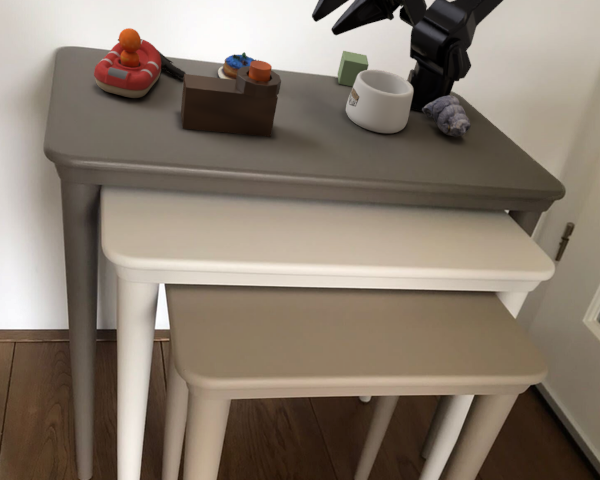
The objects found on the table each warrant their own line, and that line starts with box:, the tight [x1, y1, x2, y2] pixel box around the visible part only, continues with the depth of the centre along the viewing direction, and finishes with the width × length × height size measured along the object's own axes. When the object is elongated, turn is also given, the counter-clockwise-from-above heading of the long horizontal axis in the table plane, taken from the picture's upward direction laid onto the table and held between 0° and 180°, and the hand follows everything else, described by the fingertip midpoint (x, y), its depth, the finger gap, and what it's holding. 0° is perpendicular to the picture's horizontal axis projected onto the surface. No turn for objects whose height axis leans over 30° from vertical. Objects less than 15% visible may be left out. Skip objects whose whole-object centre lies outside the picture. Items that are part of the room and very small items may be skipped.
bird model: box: [117, 38, 187, 79], centre depth 100 cm, size 3×13×3 cm, turn 61°
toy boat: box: [93, 27, 162, 99], centre depth 92 cm, size 8×12×8 cm, turn 173°
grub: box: [421, 94, 472, 137], centre depth 103 cm, size 5×5×10 cm
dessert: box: [217, 52, 260, 80], centre depth 103 cm, size 8×7×6 cm
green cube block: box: [337, 50, 369, 88], centre depth 110 cm, size 4×4×4 cm
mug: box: [345, 69, 413, 134], centre depth 101 cm, size 12×10×6 cm
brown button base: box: [180, 66, 282, 138], centre depth 89 cm, size 12×6×8 cm, turn 101°
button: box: [249, 59, 273, 82], centre depth 87 cm, size 3×3×2 cm
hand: (323, 25), depth 88 cm, fingers open, 4 cm apart
